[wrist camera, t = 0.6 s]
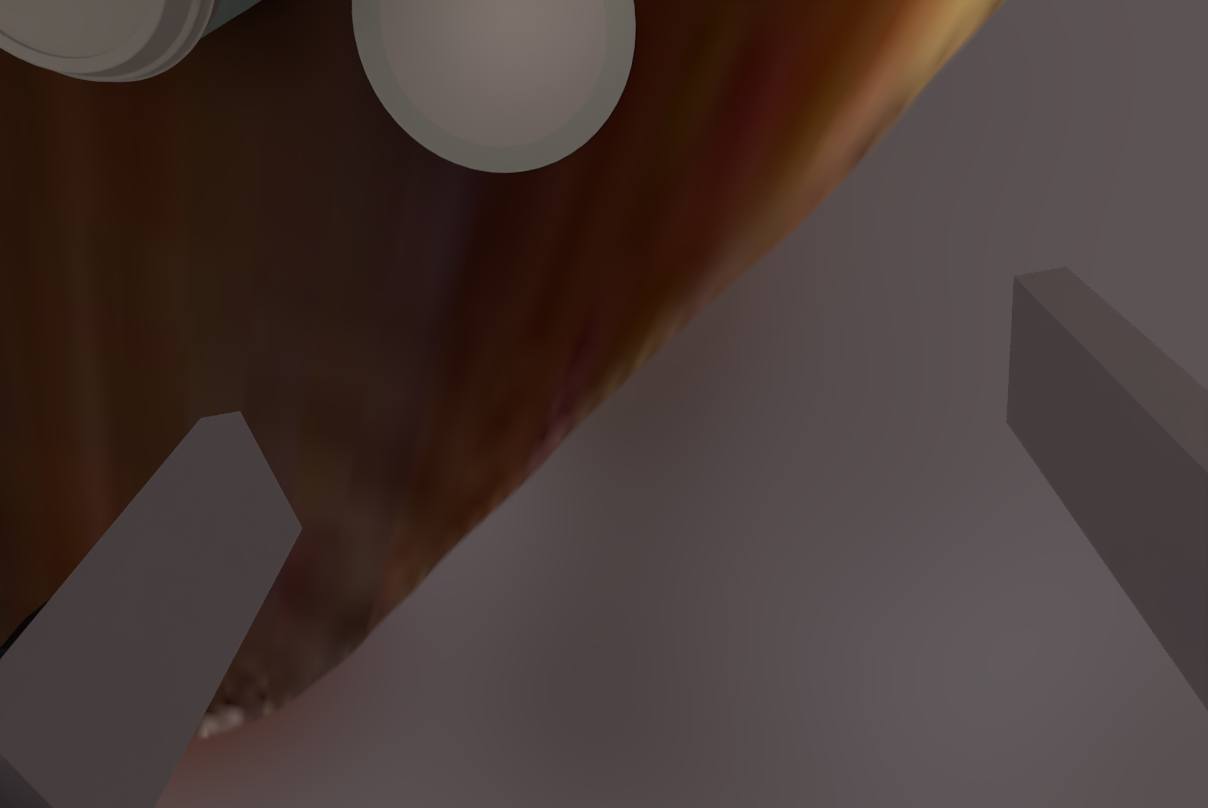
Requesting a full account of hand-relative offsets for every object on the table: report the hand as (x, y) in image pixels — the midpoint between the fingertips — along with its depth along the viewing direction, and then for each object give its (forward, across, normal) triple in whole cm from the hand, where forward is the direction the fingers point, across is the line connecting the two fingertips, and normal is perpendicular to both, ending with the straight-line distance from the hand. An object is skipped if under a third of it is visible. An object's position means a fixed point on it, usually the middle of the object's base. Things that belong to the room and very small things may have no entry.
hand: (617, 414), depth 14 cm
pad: (+26, -5, +4) cm, 27 cm away
